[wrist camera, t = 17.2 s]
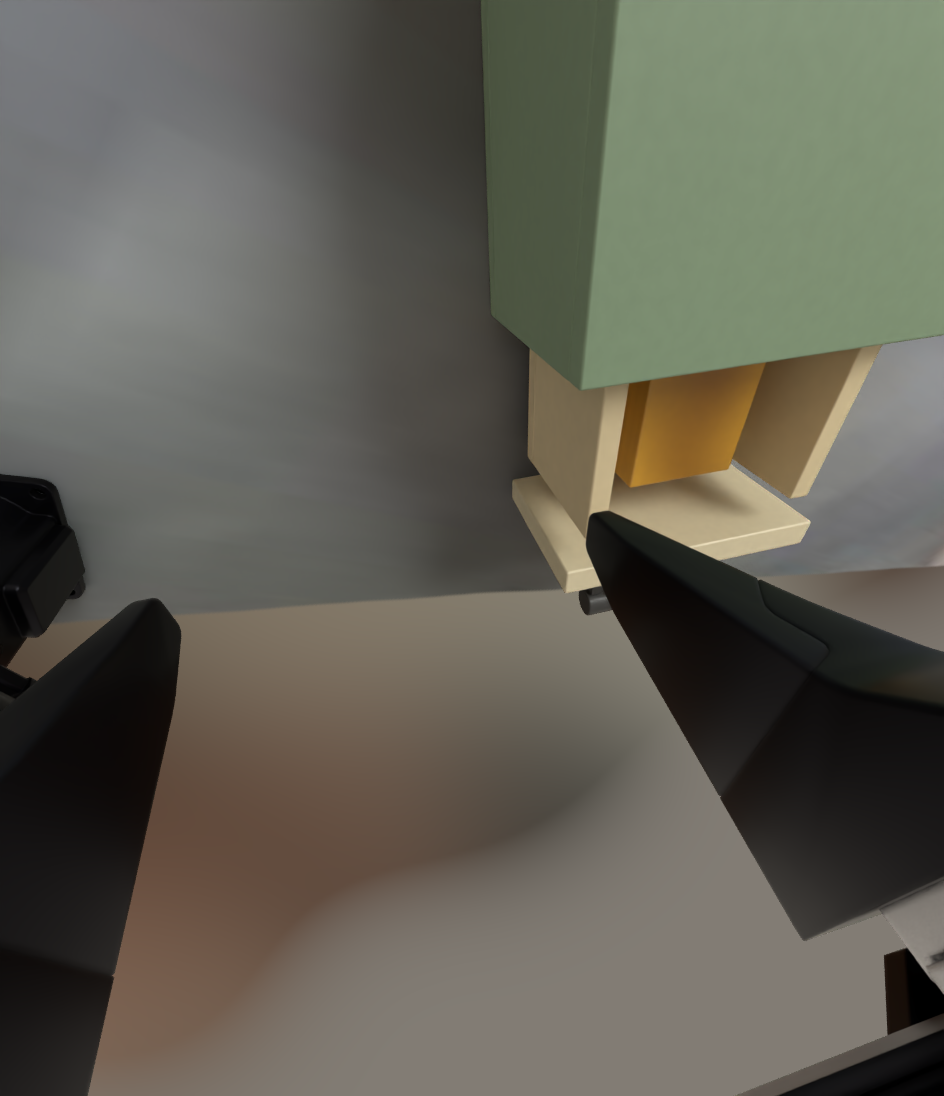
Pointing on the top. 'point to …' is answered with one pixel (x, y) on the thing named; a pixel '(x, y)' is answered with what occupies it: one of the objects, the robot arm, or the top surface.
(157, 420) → the top surface
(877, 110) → the cabinet
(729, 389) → the block
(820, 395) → the drawer
